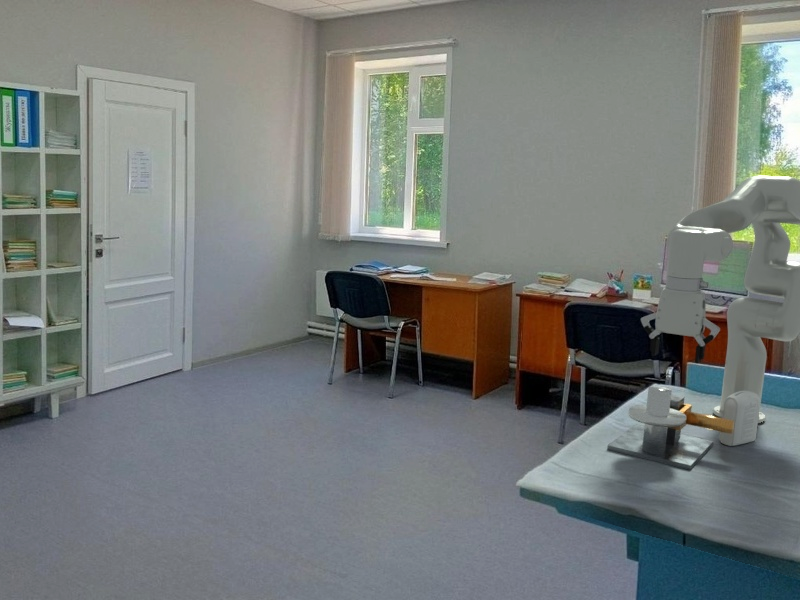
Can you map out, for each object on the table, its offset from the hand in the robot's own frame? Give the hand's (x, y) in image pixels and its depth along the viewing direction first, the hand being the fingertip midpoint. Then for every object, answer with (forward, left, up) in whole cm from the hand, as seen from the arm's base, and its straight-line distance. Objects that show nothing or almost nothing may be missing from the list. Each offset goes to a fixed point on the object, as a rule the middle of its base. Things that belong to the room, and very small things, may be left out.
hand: (676, 358), depth 172 cm
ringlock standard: (+5, +2, -20) cm, 21 cm away
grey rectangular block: (0, 0, -19) cm, 19 cm away
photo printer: (-13, +13, -20) cm, 27 cm away
